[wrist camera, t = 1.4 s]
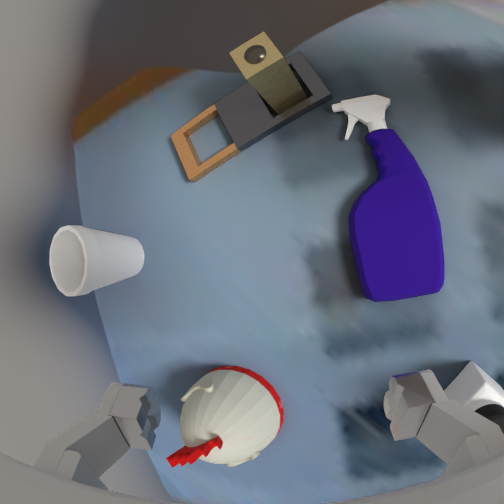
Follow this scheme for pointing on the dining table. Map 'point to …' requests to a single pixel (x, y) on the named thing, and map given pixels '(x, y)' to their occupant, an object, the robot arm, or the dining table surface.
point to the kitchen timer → (228, 417)
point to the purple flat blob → (393, 214)
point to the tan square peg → (268, 73)
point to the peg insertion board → (246, 119)
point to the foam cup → (92, 259)
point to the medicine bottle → (478, 393)
